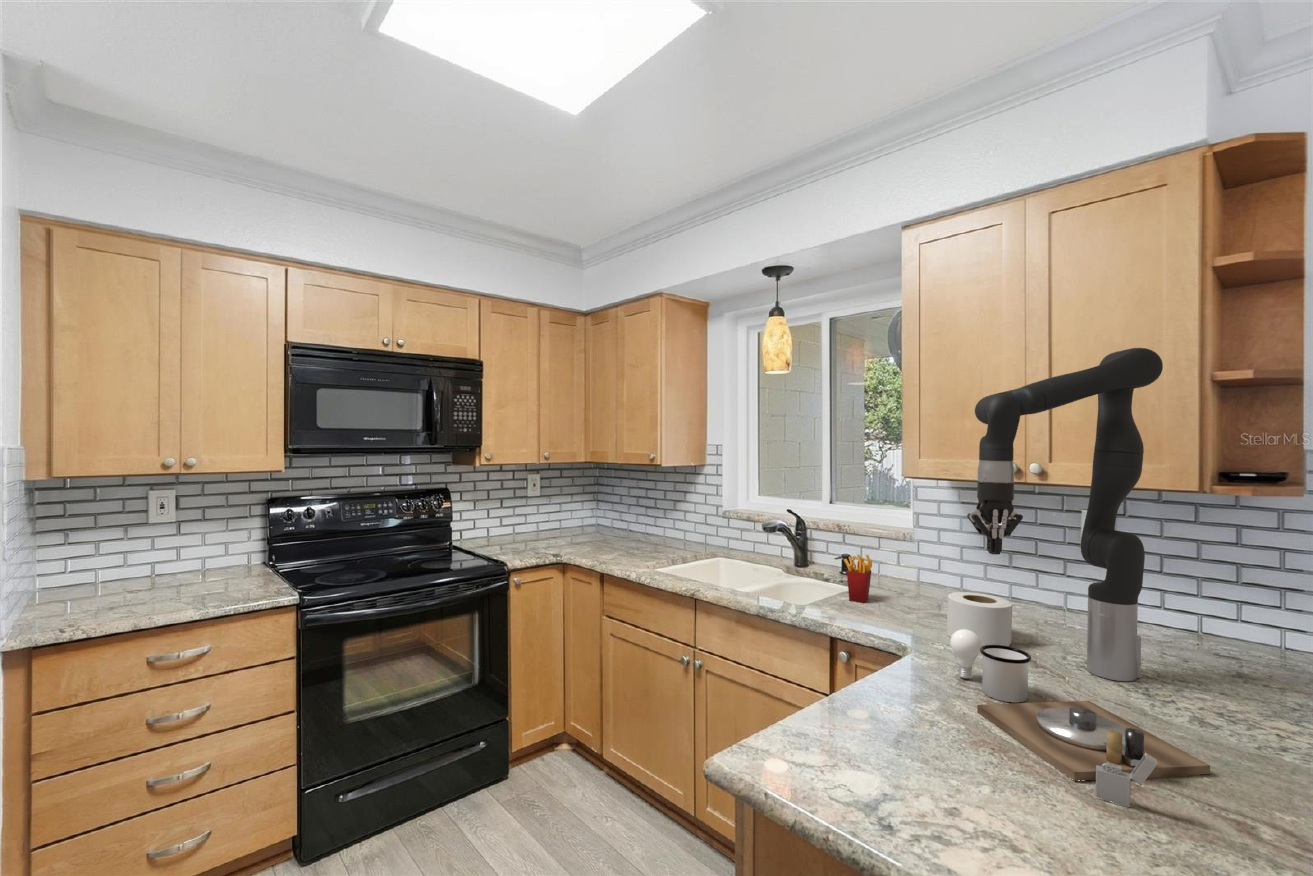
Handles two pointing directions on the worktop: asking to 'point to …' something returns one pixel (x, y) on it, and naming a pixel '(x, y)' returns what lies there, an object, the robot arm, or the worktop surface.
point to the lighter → (1121, 780)
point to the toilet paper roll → (980, 617)
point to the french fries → (859, 578)
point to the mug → (1005, 673)
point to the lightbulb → (965, 650)
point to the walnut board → (1081, 760)
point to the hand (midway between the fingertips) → (994, 553)
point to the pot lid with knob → (1090, 731)
